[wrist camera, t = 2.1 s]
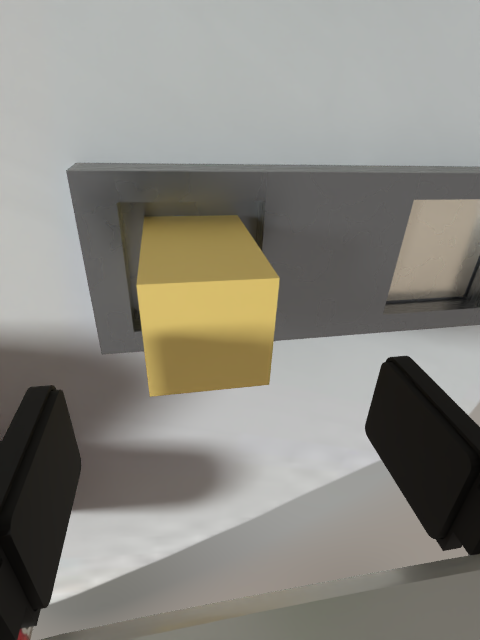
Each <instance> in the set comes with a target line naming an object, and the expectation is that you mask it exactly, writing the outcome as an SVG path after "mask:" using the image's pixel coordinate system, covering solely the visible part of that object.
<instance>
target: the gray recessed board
mask: <svg viewBox="0 0 480 640" xmlns="http://www.w3.org/2000/svg"><path fill="white" fill-rule="evenodd" d="M66 172H67V177H68V182H69V188H70V193H71V198H72V203H73V208H74V213H75V219H76V224H77V229H78V234H79V239H80V244H81V250H82V255H83V260H84V265H85V270H86V275H87V280H88V286H89V291H90V296H91V301H92V306H93V311H94V317H95V322H96V327H97V332H98V337H99V342H100V348H101V353H102V354H113V353H126V352H138V351H144V344H143V336H142V327H141V319H140V311H139V302H138V294H137V286H136V284H137V275H138V267H139V258H140V249H141V240H142V231H143V223H144V217H155V216H220V215H238V216H239V218H240V219H241V221H242V222H243V224H244V225H245V227H246V228H247V230H248V231H249V233H250V234H251V236H252V237H253V239H254V240H255V242H256V243H257V245H258V246H259V248H260V249H261V251H262V252H263V254H264V255H265V257H266V258H267V260H268V261H269V263H270V264H271V266H272V267H273V269H274V270H275V272H276V273H277V275H278V276H279V278H280V280H279V290H278V300H277V311H276V321H275V331H274V341H278V340H291V339H304V338H316V337H329V336H342V335H354V334H367V333H380V332H392V331H405V330H418V329H431V328H443V327H456V326H469V325H480V167H445V166H341V165H238V164H134V163H75V164H74V165H73V166H71V167H70V168H69V169H68V170H66Z"/></svg>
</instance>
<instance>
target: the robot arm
mask: <svg viewBox="0 0 480 640" xmlns="http://www.w3.org/2000/svg"><path fill="white" fill-rule="evenodd" d="M365 431H366V435H367V437H368V439H369V440H370V442H371V443H372V445H373V447H374V448H375V450H376V451H377V453H378V455H379V456H380V458H381V460H382V461H383V463H384V464H385V466H386V468H387V469H388V471H389V472H390V474H391V476H392V477H393V479H394V480H395V482H396V484H397V485H398V487H399V488H400V490H401V491H402V493H403V495H404V497H405V498H406V500H407V501H408V503H409V504H410V506H411V508H412V509H413V511H414V512H415V514H416V516H417V517H418V519H419V520H420V522H421V524H422V525H423V527H424V529H425V530H426V532H427V533H428V535H429V536H430V537H431V538H433V539H436V540H437V542H438V544H439V545H440V547H441V548H442V550H443V551H445V550H451V549H456V548H461V547H462V545H463V547H464V548H465V549H466V551H467V552H468V556H464V557H459V558H452V559H447V560H441V561H436V562H431V563H425V564H420V565H414V566H409V567H403V568H398V569H392V570H387V571H381V572H376V573H370V574H366V575H360V576H354V577H349V578H344V579H338V580H333V581H328V582H322V583H317V584H312V585H307V586H301V587H296V588H290V589H285V590H280V591H275V592H269V593H264V594H259V595H253V596H248V597H243V598H238V599H233V600H228V601H222V602H217V603H212V604H207V605H202V606H197V607H192V608H187V609H181V610H176V611H171V612H166V613H160V614H156V615H150V616H146V617H141V618H135V619H131V620H126V621H121V622H116V623H112V624H107V625H102V626H98V627H93V628H88V629H83V630H79V631H74V632H69V633H65V634H61V635H57V636H53V637H49V638H45V639H41V640H480V427H479V426H478V425H477V424H476V423H475V422H474V421H473V420H472V419H471V418H470V417H469V416H468V415H467V414H466V413H465V412H464V411H463V410H462V409H461V408H460V407H459V406H458V405H457V404H456V403H455V402H454V401H453V400H452V399H451V398H450V397H449V396H448V395H447V394H446V393H445V392H444V391H443V390H442V389H441V388H440V387H439V386H438V385H437V384H436V383H435V382H434V381H433V380H432V379H431V378H430V377H429V376H428V375H427V374H426V373H425V372H424V371H423V370H422V369H421V368H420V367H419V366H418V365H417V364H416V363H415V362H414V361H413V360H412V359H411V358H410V357H409V356H399V357H390V358H388V359H387V360H386V362H384V363H383V364H382V365H381V369H380V372H379V376H378V380H377V383H376V387H375V391H374V395H373V398H372V402H371V406H370V409H369V413H368V417H367V421H366V424H365ZM80 471H81V458H80V454H79V450H78V446H77V442H76V439H75V435H74V431H73V427H72V423H71V420H70V416H69V412H68V408H67V404H66V401H65V397H64V393H63V391H62V390H56V388H55V387H54V386H53V385H50V386H38V387H30V388H29V389H28V390H27V392H26V394H25V396H24V398H23V400H22V402H21V404H20V406H19V408H18V410H17V412H16V414H15V416H14V418H13V420H12V422H11V424H10V426H9V428H8V430H7V432H6V434H5V436H4V438H3V440H2V441H0V640H17V639H18V635H19V632H20V629H21V628H27V627H32V626H36V625H37V621H38V617H39V613H40V609H42V608H46V607H47V606H48V605H49V603H50V599H51V596H52V591H53V587H54V583H55V578H56V574H57V570H58V566H59V561H60V557H61V553H62V548H63V544H64V540H65V536H66V531H67V527H68V523H69V518H70V514H71V510H72V506H73V501H74V497H75V493H76V489H77V484H78V480H79V476H80Z"/></svg>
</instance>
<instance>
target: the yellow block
mask: <svg viewBox="0 0 480 640" xmlns="http://www.w3.org/2000/svg"><path fill="white" fill-rule="evenodd" d="M279 280H280V278H279V276H278V275H277V273H276V272H275V270H274V269H273V267H272V266H271V264H270V263H269V261H268V260H267V258H266V257H265V255H264V254H263V252H262V251H261V249H260V248H259V246H258V245H257V243H256V242H255V240H254V239H253V237H252V236H251V234H250V233H249V231H248V230H247V228H246V227H245V225H244V224H243V222H242V221H241V219H240V218H239V216H238V215H220V216H155V217H144V223H143V231H142V240H141V249H140V258H139V267H138V275H137V284H136V286H137V294H138V302H139V311H140V319H141V327H142V336H143V344H144V352H145V361H146V369H147V377H148V386H149V394H150V397H151V396H161V395H171V394H181V393H191V392H201V391H211V390H221V389H231V388H241V387H251V386H261V385H269V381H270V371H271V361H272V351H273V341H274V331H275V321H276V311H277V300H278V290H279Z"/></svg>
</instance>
